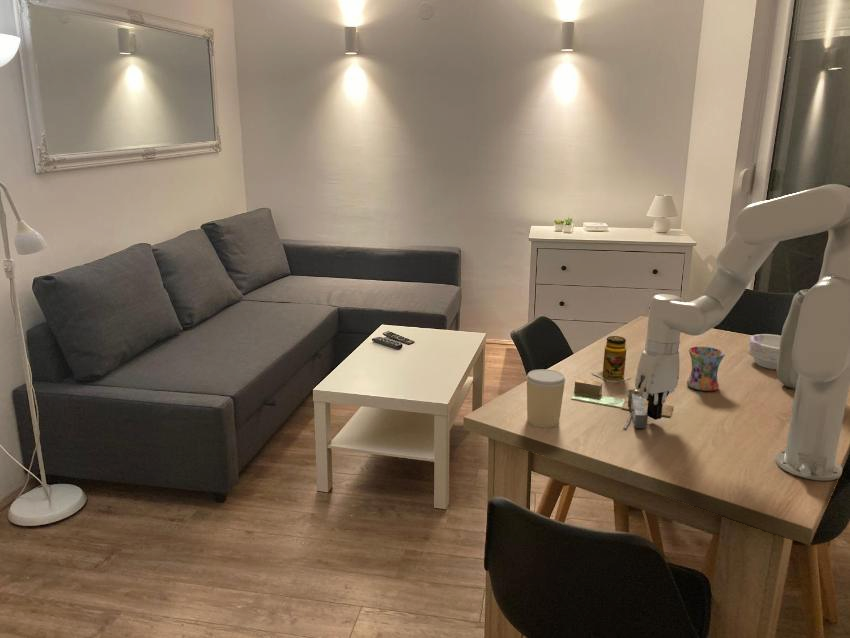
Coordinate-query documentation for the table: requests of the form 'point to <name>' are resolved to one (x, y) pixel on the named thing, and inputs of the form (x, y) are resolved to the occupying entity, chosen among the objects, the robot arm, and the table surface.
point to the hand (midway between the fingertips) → (653, 417)
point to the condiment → (614, 360)
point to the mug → (704, 368)
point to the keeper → (593, 393)
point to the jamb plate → (665, 409)
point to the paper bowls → (765, 350)
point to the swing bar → (637, 409)
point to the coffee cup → (544, 397)
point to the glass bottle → (789, 343)
